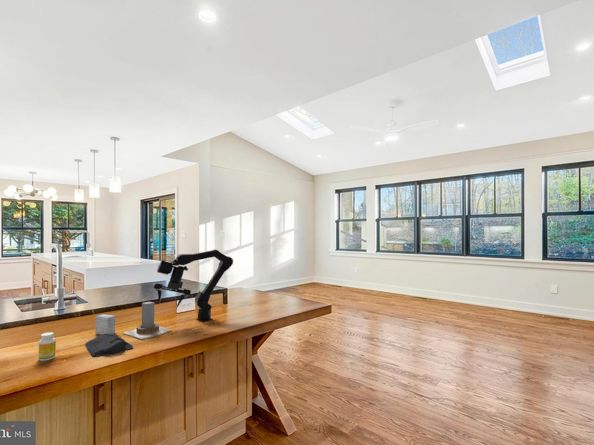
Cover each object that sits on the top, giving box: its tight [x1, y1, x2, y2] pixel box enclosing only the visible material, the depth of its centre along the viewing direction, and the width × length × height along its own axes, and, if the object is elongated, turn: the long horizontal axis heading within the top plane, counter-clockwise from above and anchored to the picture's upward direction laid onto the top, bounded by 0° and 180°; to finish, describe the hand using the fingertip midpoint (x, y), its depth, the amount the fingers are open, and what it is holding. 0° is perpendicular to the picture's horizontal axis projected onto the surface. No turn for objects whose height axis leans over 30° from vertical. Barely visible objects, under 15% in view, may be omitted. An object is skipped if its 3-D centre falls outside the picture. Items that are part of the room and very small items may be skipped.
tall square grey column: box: [141, 301, 155, 328], centre depth 161 cm, size 4×4×14 cm
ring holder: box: [122, 322, 173, 341], centre depth 161 cm, size 16×16×3 cm
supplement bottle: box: [37, 332, 57, 362], centre depth 128 cm, size 5×5×10 cm
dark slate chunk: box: [84, 333, 134, 358], centre depth 141 cm, size 15×22×5 cm
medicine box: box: [94, 314, 116, 336], centre depth 159 cm, size 8×4×9 cm, turn 74°
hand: (167, 306), depth 171 cm, fingers open, 9 cm apart
